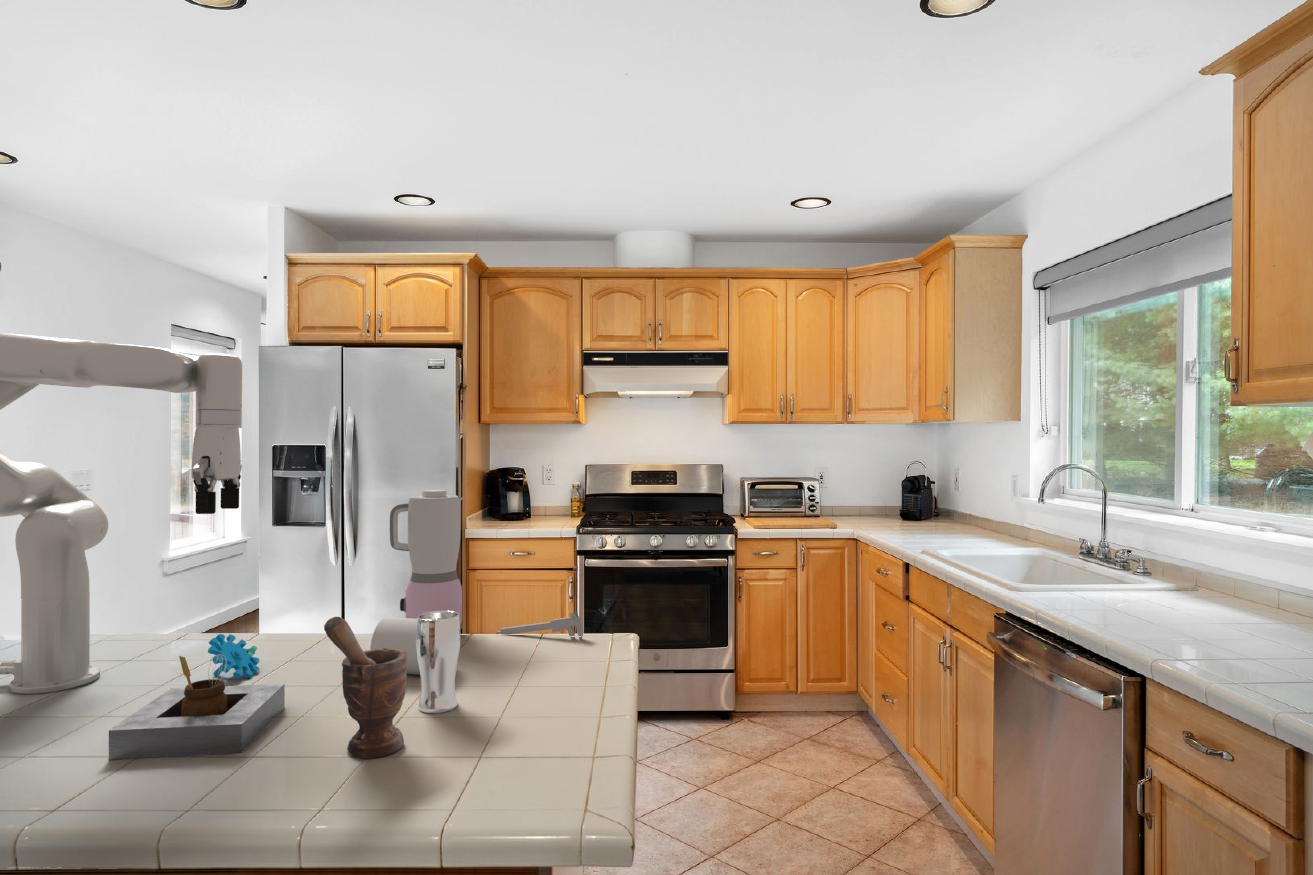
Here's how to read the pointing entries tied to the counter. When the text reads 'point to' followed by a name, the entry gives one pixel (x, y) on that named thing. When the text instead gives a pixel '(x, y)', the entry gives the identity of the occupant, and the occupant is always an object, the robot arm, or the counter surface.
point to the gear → (233, 656)
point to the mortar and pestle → (370, 691)
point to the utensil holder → (203, 694)
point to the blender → (431, 552)
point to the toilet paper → (398, 639)
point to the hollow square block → (197, 724)
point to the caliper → (550, 626)
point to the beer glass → (438, 659)
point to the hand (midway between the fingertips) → (218, 510)
